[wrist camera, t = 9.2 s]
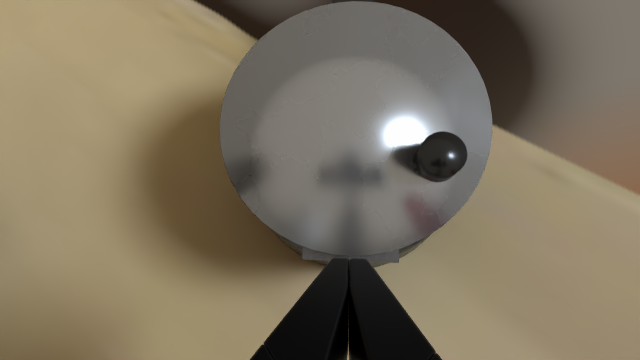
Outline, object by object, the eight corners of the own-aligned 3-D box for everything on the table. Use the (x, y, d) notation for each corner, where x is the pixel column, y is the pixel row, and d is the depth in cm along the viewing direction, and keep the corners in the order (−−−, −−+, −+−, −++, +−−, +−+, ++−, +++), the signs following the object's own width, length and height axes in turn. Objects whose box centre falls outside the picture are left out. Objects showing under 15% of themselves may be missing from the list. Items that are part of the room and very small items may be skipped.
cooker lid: (492, 265, 16) (517, 265, 13) (216, 257, 17) (194, 255, 14) (473, 14, 18) (491, -23, 16) (238, 20, 19) (223, -14, 17)
